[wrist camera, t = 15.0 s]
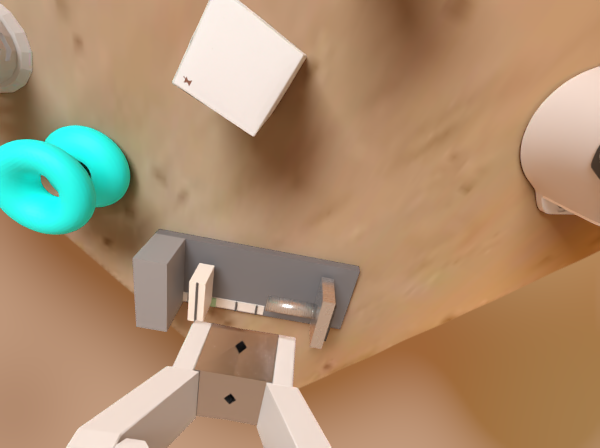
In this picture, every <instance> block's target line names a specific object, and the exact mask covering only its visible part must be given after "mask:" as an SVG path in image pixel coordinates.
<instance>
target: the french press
mask: <svg viewBox="0 0 600 448" xmlns="http://www.w3.org/2000/svg"><path fill="white" fill-rule="evenodd" d="M31 73H32V51H31V48H30V45H29V42H28V40H27V37H26V34H25V32H24V30H23V29H22V27H21V26H20V25H19V23H18V22H17V20H16V19H15V17H14V16H13V15H12V13H11V12H10V11H9V10H7V9H6V8H5V7H4V6H3V5H1V4H0V93H10V92H15V91H17V90H18V89H20V88H22V87H23V86H25V85H26V83H27V81H28V79H29V77H30V75H31Z"/></svg>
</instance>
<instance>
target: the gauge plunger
mask: <svg viewBox="0 0 600 448" xmlns="http://www.w3.org/2000/svg"><path fill="white" fill-rule="evenodd" d="M336 308H337V306H336V295H335V288H334V279H330V278H325V277H322V279H321V283H320V287H319V290H318V294H317V297H316V301H315V304H313V303H308V302H302V301H297V300H291V299H286V298H280V297H275V296H269V295H268V297H267V302H266V307H265V311H271V312H277V313H282V314H288V315H294V316H299V317H305V318H311V319H310V347H313V348H319V349H321V348H322V345H323V342H324V341H326V339H327V336H328V333H329V330H330V327H331V324H332V321H333V317H334V314H335V311H336Z"/></svg>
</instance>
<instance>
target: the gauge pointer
mask: <svg viewBox="0 0 600 448" xmlns="http://www.w3.org/2000/svg"><path fill="white" fill-rule="evenodd" d="M213 278H214V265H208V264H203V263H199V265H198V267H197V269H196V270H195V272H194V274H193V276H192V277H191V279H190V281H189V300H188V320H190V321H195V320H198V321H204V319H205V316H206V314H207V312H208V309H209V307H210V304H211V301H212V289H213Z"/></svg>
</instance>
